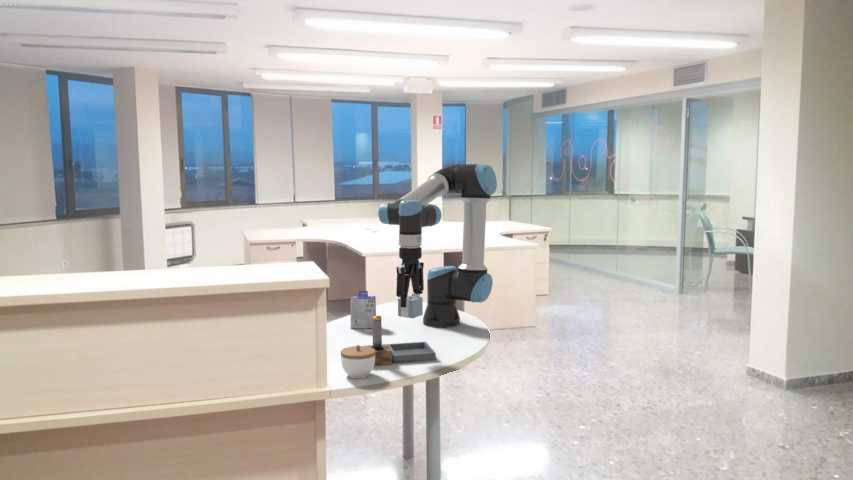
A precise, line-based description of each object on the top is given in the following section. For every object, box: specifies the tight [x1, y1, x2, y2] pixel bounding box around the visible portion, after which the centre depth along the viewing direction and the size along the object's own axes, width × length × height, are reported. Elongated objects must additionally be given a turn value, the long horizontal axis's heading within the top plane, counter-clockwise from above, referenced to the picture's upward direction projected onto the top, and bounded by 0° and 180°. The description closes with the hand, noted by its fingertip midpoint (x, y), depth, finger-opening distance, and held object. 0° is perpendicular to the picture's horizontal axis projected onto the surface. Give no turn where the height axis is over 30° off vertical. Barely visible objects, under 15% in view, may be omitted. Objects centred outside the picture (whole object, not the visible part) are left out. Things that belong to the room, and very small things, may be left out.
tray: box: [386, 341, 437, 364], centre depth 221 cm, size 14×14×2 cm
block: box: [397, 295, 424, 319], centre depth 219 cm, size 6×6×6 cm
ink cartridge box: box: [349, 290, 377, 329], centre depth 258 cm, size 10×6×14 cm, turn 91°
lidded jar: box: [340, 344, 376, 379], centre depth 200 cm, size 11×11×9 cm
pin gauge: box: [371, 315, 383, 350], centre depth 213 cm, size 3×3×14 cm
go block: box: [366, 343, 393, 367], centre depth 214 cm, size 8×8×4 cm
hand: (410, 314), depth 219 cm, fingers closed on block, 6 cm apart
